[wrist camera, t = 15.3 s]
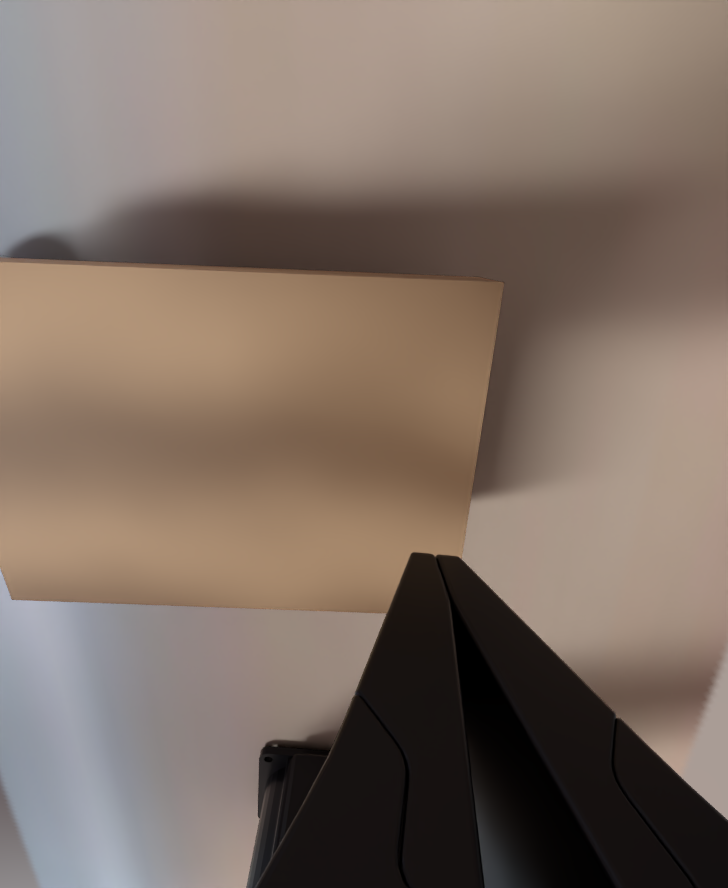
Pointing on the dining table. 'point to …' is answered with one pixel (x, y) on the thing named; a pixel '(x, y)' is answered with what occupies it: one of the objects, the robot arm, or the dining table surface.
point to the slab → (235, 431)
